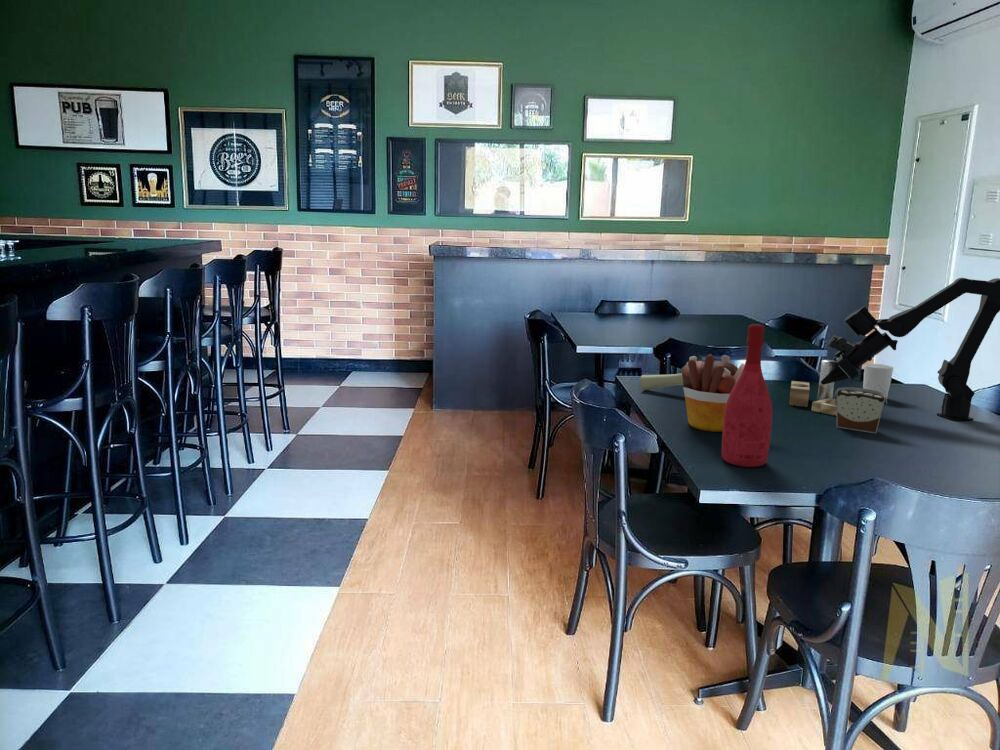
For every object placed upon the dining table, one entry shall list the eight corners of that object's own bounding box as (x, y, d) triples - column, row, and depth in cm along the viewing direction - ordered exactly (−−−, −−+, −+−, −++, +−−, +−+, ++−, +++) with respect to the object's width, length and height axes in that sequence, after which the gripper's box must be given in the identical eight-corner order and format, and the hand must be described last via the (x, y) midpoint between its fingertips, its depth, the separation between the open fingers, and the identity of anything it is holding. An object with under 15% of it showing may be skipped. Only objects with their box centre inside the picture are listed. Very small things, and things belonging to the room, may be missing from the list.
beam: (789, 396, 225) (791, 380, 224) (807, 398, 223) (809, 382, 222) (789, 405, 214) (790, 387, 213) (807, 407, 212) (809, 389, 211)
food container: (886, 429, 189) (891, 391, 187) (882, 434, 184) (888, 395, 182) (834, 421, 196) (839, 385, 194) (830, 426, 191) (834, 388, 189)
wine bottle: (757, 455, 164) (770, 321, 158) (775, 469, 154) (789, 327, 148) (714, 454, 164) (725, 320, 158) (729, 468, 154) (742, 326, 148)
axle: (834, 406, 214) (839, 362, 212) (821, 406, 214) (826, 362, 211) (826, 402, 218) (831, 359, 215) (814, 402, 217) (819, 359, 215)
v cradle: (833, 406, 214) (834, 398, 213) (850, 418, 200) (851, 409, 200) (804, 404, 214) (805, 396, 214) (819, 416, 201) (820, 407, 200)
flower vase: (651, 412, 232) (766, 403, 214) (636, 408, 222) (756, 398, 204) (649, 375, 234) (763, 363, 216) (635, 369, 224) (753, 356, 206)
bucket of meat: (689, 414, 200) (695, 342, 196) (752, 423, 191) (759, 348, 188) (666, 430, 183) (672, 351, 179) (734, 441, 174) (742, 359, 171)
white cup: (882, 395, 231) (886, 364, 229) (893, 401, 223) (897, 368, 221) (856, 394, 231) (860, 363, 229) (866, 399, 224) (870, 367, 222)
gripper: (846, 323, 218) (802, 356, 224) (850, 330, 201) (802, 366, 208) (872, 351, 217) (827, 384, 223) (878, 361, 200) (829, 396, 206)
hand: (821, 382), depth 215 cm, fingers closed on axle, 4 cm apart
